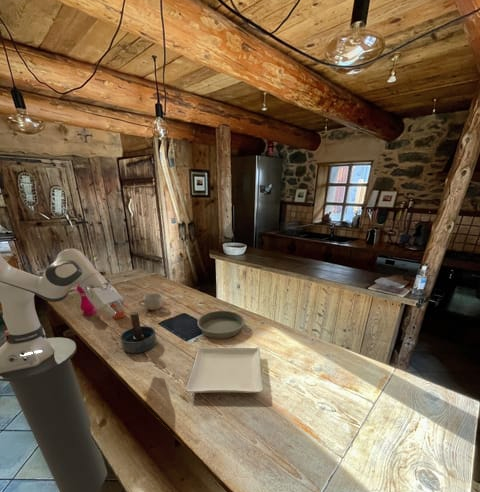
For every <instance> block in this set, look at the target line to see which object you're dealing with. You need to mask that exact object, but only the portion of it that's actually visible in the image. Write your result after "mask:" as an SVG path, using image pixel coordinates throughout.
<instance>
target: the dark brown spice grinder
mask: <svg viewBox="0 0 480 492" xmlns="http://www.w3.org/2000/svg"><path fill="white" fill-rule="evenodd" d="M129 316H130V317H129V318H130V322H131V328H133V332H134V337H133V339H134V342H139V341H143V340H144V335H143V334H142V332H141V326H142V325H141V322H140V318H139V312H138V311H132V312H130V313H129Z"/></svg>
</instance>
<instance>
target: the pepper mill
mask: <svg viewBox="0 0 480 492" xmlns="http://www.w3.org/2000/svg"><path fill="white" fill-rule="evenodd" d="M76 291H77V292H78V295H79V296H80V299H81V300H80V310H81V311H82V314H83V316H86V317H88V316H92V315H94V314H95V313H96V308H95V307H94V306H93V304H92V303H91V302H90V301H89V299H88V298H87V296H86V293H85V292H84V291H83V289H82V288H81V287H80V286H79V285H78V284H77V286H76Z"/></svg>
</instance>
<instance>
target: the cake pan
mask: <svg viewBox="0 0 480 492" xmlns="http://www.w3.org/2000/svg"><path fill="white" fill-rule="evenodd" d="M245 323H246V320H245V318H244V317H243V316H242V314H240V313H237V312H235V311H230V310H215V311H210V312H207V313H204V314H203V315H201V316H200V317H199V318H198V319H197V321H196V324H197V327H198V328H199V329H200V332H201V333H202V334H203V335H204V336H206V337H208V338H211V339H228V338H231V337H234V336H236V335H237V334H238V335H239V333H240V332H241V330H242V328H243V326H244V325H245Z"/></svg>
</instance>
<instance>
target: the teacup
mask: <svg viewBox="0 0 480 492" xmlns="http://www.w3.org/2000/svg"><path fill="white" fill-rule="evenodd" d="M141 302H143V303H144V304H142V303H141ZM138 305H139V306H140V307H143V308H145V309H148V310H149V311H156V310H159V309H160V308H161V307H162V306H163V295H162V294H161V293H157V292H152V293H151V292H150V293H147V294H145V295H144V296H143V298H141V299H138Z"/></svg>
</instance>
